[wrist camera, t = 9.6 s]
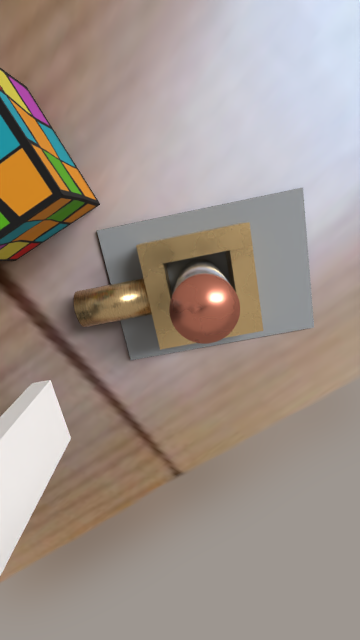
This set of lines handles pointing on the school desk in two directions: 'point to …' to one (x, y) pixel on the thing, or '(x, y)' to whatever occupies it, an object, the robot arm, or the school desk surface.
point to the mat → (225, 263)
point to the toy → (34, 175)
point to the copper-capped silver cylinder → (203, 303)
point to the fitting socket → (156, 287)
